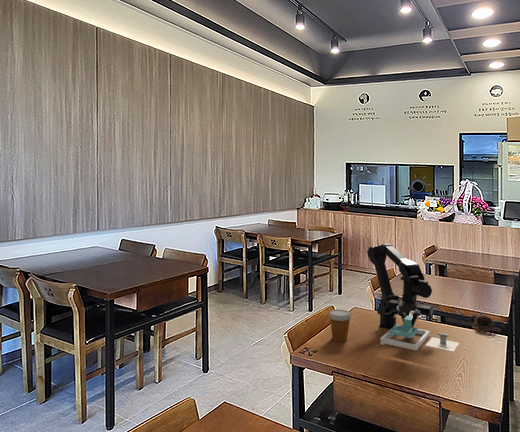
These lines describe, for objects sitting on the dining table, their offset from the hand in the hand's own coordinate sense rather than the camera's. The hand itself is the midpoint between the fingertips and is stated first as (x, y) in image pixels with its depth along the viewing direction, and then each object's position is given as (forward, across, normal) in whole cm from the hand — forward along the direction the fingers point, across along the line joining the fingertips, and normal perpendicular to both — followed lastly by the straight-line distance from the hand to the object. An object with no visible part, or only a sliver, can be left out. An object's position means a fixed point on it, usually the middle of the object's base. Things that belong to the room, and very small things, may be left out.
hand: (408, 326), depth 193 cm
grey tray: (+5, 0, -5) cm, 7 cm away
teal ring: (+1, 0, -5) cm, 5 cm away
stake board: (+5, +15, -2) cm, 16 cm away
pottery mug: (+6, +25, +28) cm, 38 cm away
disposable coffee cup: (+5, -24, -19) cm, 31 cm away
